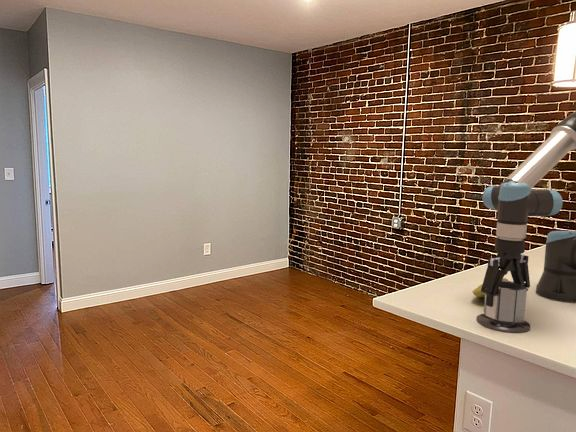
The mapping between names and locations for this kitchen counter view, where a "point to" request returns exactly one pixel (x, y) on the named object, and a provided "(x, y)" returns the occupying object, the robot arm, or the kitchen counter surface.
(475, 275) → the kitchen counter surface
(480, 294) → the plastic component
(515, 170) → the robot arm
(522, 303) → the collar
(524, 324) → the duct stub
